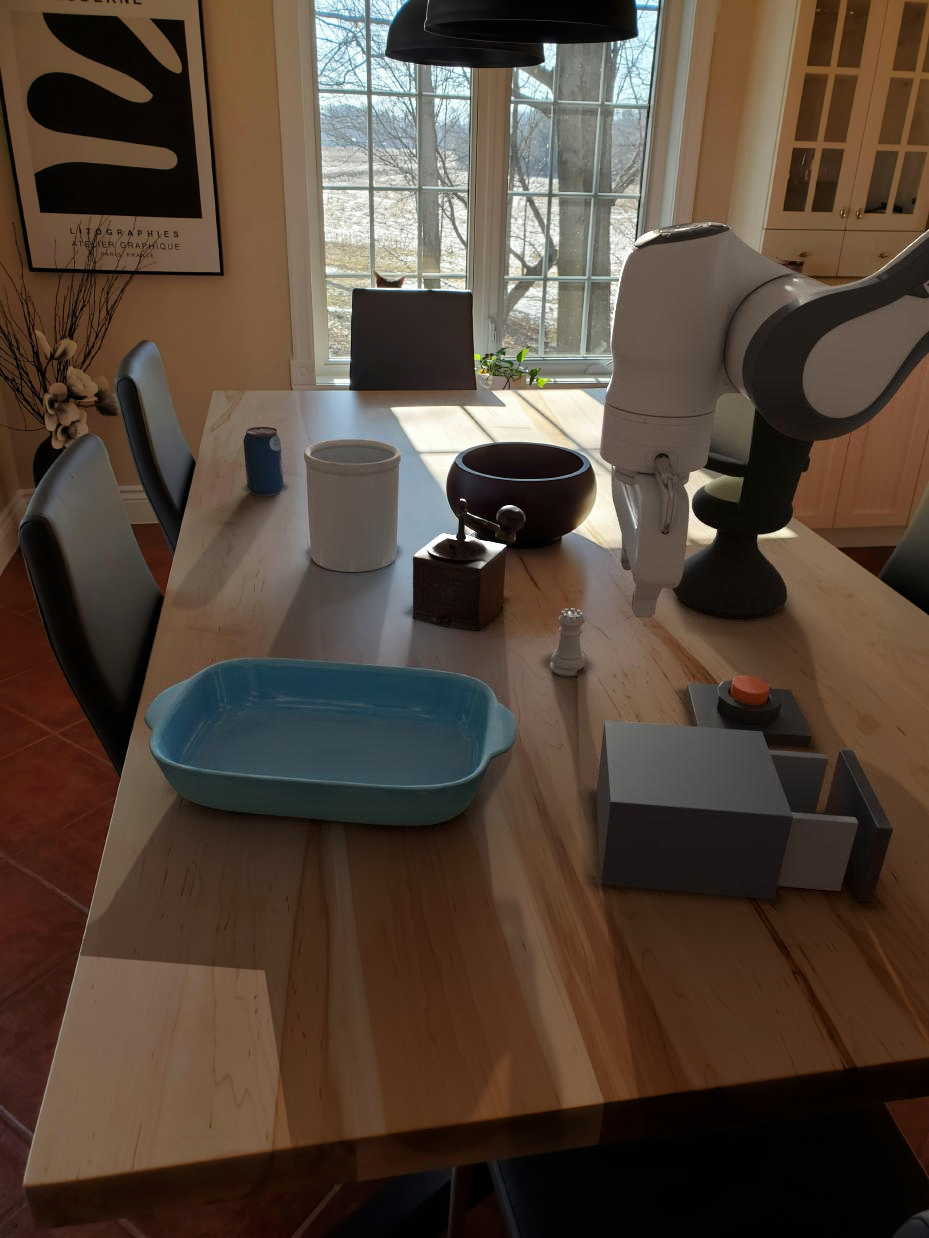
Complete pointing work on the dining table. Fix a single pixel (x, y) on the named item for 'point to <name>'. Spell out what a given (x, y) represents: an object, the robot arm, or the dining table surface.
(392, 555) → the utensil holder
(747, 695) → the button
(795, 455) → the black plant vase
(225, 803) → the casserole dish
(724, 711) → the button box
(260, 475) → the soda can
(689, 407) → the robot arm
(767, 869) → the cabinet
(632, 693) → the dining table surface
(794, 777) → the drawer
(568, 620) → the rook chess piece
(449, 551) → the manual coffee grinder
